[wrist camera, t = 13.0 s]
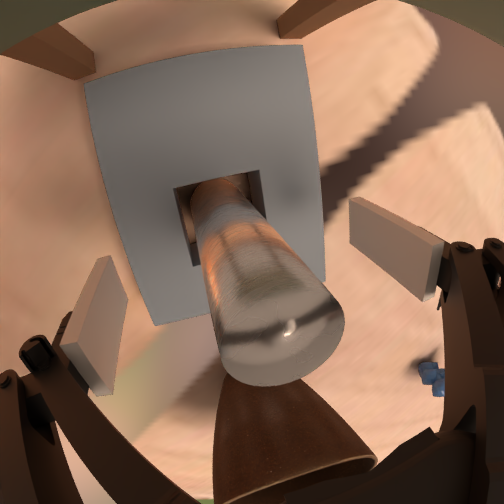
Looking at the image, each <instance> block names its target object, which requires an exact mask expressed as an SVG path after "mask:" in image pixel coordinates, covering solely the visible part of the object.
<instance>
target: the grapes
mask: <svg viewBox="0 0 504 504" xmlns="http://www.w3.org/2000/svg"><path fill="white" fill-rule="evenodd" d="M419 375H420V377H421V378H422V383H423V384H424V385H432V393H433V396H435V397H442V396H443V397H444V393H445V369H439V368H438V363H436V362H422V363H421V364H419Z"/></svg>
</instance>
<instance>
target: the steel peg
mask: <svg viewBox="0 0 504 504" xmlns="http://www.w3.org/2000/svg"><path fill="white" fill-rule="evenodd" d="M191 211H192V217H193V223H194V229H195V235H196V241H197V246H198V252H199V257H200V262H201V268H202V273H203V278H204V283H205V288H206V293H207V298H208V303H209V308H210V313H211V317H212V321H213V326H214V331H215V335H216V340H217V344H218V349H219V353H220V357H221V362H222V364H223V366H224V368H225V369H226V371H227V372H228V373H229V374H230V375H231V376H232V377H234V378H235V379H236V380H238V381H240V382H242V383H245V384H248V385H253V386H277V385H282V384H286V383H290V382H292V381H295V380H298V379H300V378H302V377H304V376H306V375H308V374H309V373H311V372H312V371H314V370H315V369H317V368H318V367H319V366H321V365H322V364H323V363H324V362H325V361H326V360H327V359H328V358H329V357H330V356H331V354H332V353H333V352H334V350H335V349H336V347H337V346H338V344H339V342H340V340H341V337H342V335H343V331H344V325H345V318H344V313H343V310H342V307H341V306H340V304H339V303H338V301H337V300H336V299H335V298H334V296H333V295H332V294H331V293H330V292H329V291H328V289H327V288H326V287H325V286H324V285H323V284H322V283H321V281H320V280H319V279H318V278H317V277H316V276H315V274H314V273H313V272H312V271H311V270H310V269H309V268H308V266H307V265H306V264H305V263H304V262H303V261H302V260H301V258H300V257H299V256H298V255H297V254H296V253H295V252H294V251H293V249H292V248H291V247H290V246H289V245H288V244H287V243H286V242H285V240H284V239H283V238H282V237H281V236H280V235H279V234H278V233H277V231H276V230H275V229H274V228H273V227H272V226H271V225H270V224H269V223H268V221H267V220H266V219H265V218H264V217H263V216H262V215H261V214H260V213H259V212H258V210H257V209H256V208H255V207H254V206H253V205H252V204H251V203H250V202H249V201H248V200H247V198H246V197H245V196H244V195H243V194H242V193H241V192H240V191H239V190H238V189H237V188H236V187H235V186H234V185H233V184H232V183H231V182H229V181H227V180H225V179H219V178H216V179H211V180H207V181H205V182H203V183H201V184H200V185H199V186H198V187H197V188H196V189H195V191H194V193H193V195H192V198H191Z"/></svg>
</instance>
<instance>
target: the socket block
mask: <svg viewBox="0 0 504 504" xmlns="http://www.w3.org/2000/svg"><path fill="white" fill-rule="evenodd" d="M84 90H85V96H86V102H87V108H88V114H89V119H90V124H91V129H92V134H93V139H94V144H95V148H96V152H97V157H98V161H99V165H100V169H101V173H102V177H103V181H104V184H105V188H106V192H107V195H108V199H109V202H110V206H111V209H112V212H113V216H114V219H115V222H116V225H117V228H118V231H119V234H120V237H121V240H122V243H123V246H124V249H125V252H126V255H127V258H128V261H129V263H130V266H131V269H132V271H133V274H134V277H135V279H136V282H137V284H138V287H139V290H140V292H141V295H142V297H143V300H144V302H145V304H146V307H147V309H148V312H149V314H150V316H151V319H152V321H153V323H154V325H155V326H158V325H163V324H167V323H172V322H176V321H180V320H184V319H189V318H193V317H197V316H201V315H205V314H209V313H210V308H209V303H208V298H207V293H206V288H205V283H204V278H203V273H202V268H201V262H200V257H199V252H198V246H197V243H193V244H190V242H189V239H188V235H187V231H186V227H185V223H184V219H183V215H182V211H181V207H180V202H179V198H178V194H177V190H176V188H177V187H181V186H185V185H190V184H194V183H198V182H202V181H207V180H211V179H216V178H220V177H225V176H230V175H235V174H240V173H245V172H247V173H248V179H249V185H250V192H251V198H252V204H253V206H254V207H255V208H256V209H257V210H258V212H259V213H260V214H261V215H262V216H263V217H264V218H265V219H266V220H267V221H268V223H269V224H270V225H271V226H272V227H273V228H274V229H275V230H276V231H277V233H278V234H279V235H280V236H281V237H282V238H283V239H284V240H285V242H286V243H287V244H288V245H289V246H290V247H291V248H292V249H293V251H294V252H295V253H296V254H297V255H298V256H299V257H300V258H301V260H302V261H303V262H304V263H305V264H306V265H307V266H308V268H309V269H310V270H311V271H312V272H313V273H314V274H315V276H316V277H317V278H318V279H319V280H320V281H321V283H322V282H325V248H324V227H323V210H322V196H321V183H320V171H319V161H318V151H317V141H316V132H315V124H314V116H313V108H312V101H311V94H310V87H309V80H308V74H307V68H306V62H305V56H304V50H303V45H269V46H253V47H241V48H231V49H223V50H215V51H208V52H201V53H195V54H190V55H184V56H179V57H174V58H169V59H165V60H160V61H156V62H152V63H148V64H144V65H140V66H137V67H133V68H130V69H126V70H123V71H120V72H116V73H113V74H110V75H107V76H104V77H101V78H98V79H95V80H93V81H90V82H87V83H85V84H84Z"/></svg>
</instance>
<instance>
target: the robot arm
mask: <svg viewBox="0 0 504 504" xmlns="http://www.w3.org/2000/svg"><path fill="white" fill-rule="evenodd" d="M349 223H350V244H351V245H353V246H354V247H355V248H357V249H358V250H359V251H361V252H362V253H363V254H364V255H366V256H367V257H368V258H369V259H371V260H372V261H373V262H374V263H376V264H377V265H378V266H379V267H381V268H382V269H383V270H384V271H386V272H387V273H388V274H389V275H391V276H392V277H393V278H394V279H395V280H397V281H398V282H399V283H400V284H401V285H403V286H404V287H405V288H406V289H407V290H409V291H410V292H411V293H412V294H413V295H415V296H416V297H417V298H418V299H419V300H420V301H422V302H425V301H427V300H429V299H431V298H433V297H434V295H435V291H436V286H439V287H440V288H441V289H442V291H441V295H440V299H439V303H438V307H437V310H439V308H440V307H441V308H442V319H443V332H444V352H445V393H444V413H443V421H442V424H441V427H440V430H439V432H437V433H434V432H433V431H432V429H431V428H430V427H428V428H427V429H425V430H424V431H422V432H421V433H419V434H418V435H416V436H414V437H413V438H411V439H409V440H408V441H406V442H404V443H403V444H401V445H399V446H398V447H397V448H396V449H395V450H394V451H393V452H392V453H391V454H390V455H388V456H387V457H386V458H385V459H384V460H383V461H382V462H380V463H379V464H378V465H377V466H376V467H374V468H373V469H372V470H370V471H369V472H366V473H362V474H358V475H353V476H348V477H343V478H337V479H332V480H325V481H322V482H320V483H317V484H314V485H311V486H309V487H306V488H303V489H300V490H297V491H293V492H290V493H287V494H284V497H285V500H286V501H284V502H282V503H281V504H504V243H503V242H502V241H500V240H499V239H496V238H487V239H485V240H484V244H483V249H477V250H476V249H475V248H474V247H473V246H472V245H471V244H468V243H466V242H453V243H452V244H450V243H448V242H446V241H444V240H443V239H441V238H439V237H437V236H436V235H433V234H432V233H430V232H428V231H427V230H425V229H423V228H421V227H419V226H416V225H414V224H413V223H411V222H409V221H407V220H405V219H403V218H401V217H399V216H398V215H396V214H394V213H392V212H390V211H388V210H386V209H384V208H382V207H380V206H378V205H376V204H374V203H372V202H370V201H368V200H366V199H364V198H361V197H356V198H351V199H349ZM499 277H501V287H500V288H499V287H498V285H497V284H498V281H499ZM127 303H128V298H127V295H126V293H125V291H124V288H123V286H122V283H121V281H120V278H119V276H118V273H117V271H116V268H115V266H114V263H113V260H112V258H111V255H109V256H106V257H102V258H99V259H97V261H96V263H95V265H94V267H93V269H92V271H91V273H90V275H89V277H88V279H87V281H86V284H85V286H84V288H83V290H82V292H81V294H80V297H79V299H78V301H77V303H76V306H75V308H74V310H73V311H70V312H68V314H67V315H66V316H65V317H64V318H63V319H62V322H61V324H60V326H59V329H58V331H57V333H56V334H57V335H56V336H55V338H54V341H53V343H52V346H51V344H50V343H49V341H48V340H47V338H46V337H45V336H44V335H36V336H33V337H32V338H30V339H28V340H27V341H26V342H25V343H24V344H23V345H22V347H21V348H20V351H19V357H20V359H21V360H22V362H23V363H24V364H25V366H26V367H27V368H28V370H29V371H30V372H31V373H30V374H28V375H25V376H23V377H21V378H20V377H19V376H18V374H17V373H16V372H15V371H14V370H6V371H4V372H3V373H1V374H0V504H84V503H83V501H82V499H81V497H80V494H79V492H78V489H77V487H76V485H75V482H74V479H73V477H72V474H71V471H70V469H69V466H68V463H67V460H66V457H65V454H64V452H63V448H62V445H61V441H60V438H59V435H58V431H57V427H56V423H55V421H57V423H58V425H59V426H60V428H61V430H62V431H63V433H64V435H65V436H66V438H67V439H68V441H69V442H70V444H71V445H72V447H73V448H74V450H75V451H76V453H77V454H78V456H79V457H80V458H81V460H82V461H83V463H84V464H85V465H86V467H87V468H88V469H89V471H90V472H91V473H92V475H93V476H94V477H95V478H96V480H97V481H98V482H99V483H100V485H101V486H102V487H103V488H104V490H105V491H106V492H107V493H108V494H109V495H110V497H111V498H112V499H113V500H114V501H115V502H116V503H117V504H201V503H200V502H198V501H197V500H195V499H194V498H193V497H191V496H190V495H189V494H187V493H186V492H185V491H184V490H182V489H181V488H180V487H178V486H177V485H176V484H175V483H174V482H172V481H171V480H170V479H169V478H167V477H166V476H165V475H164V474H163V473H162V472H160V471H159V470H158V469H157V468H156V467H155V466H154V465H153V464H151V463H150V462H149V461H148V460H147V459H146V458H145V457H144V456H143V455H142V454H141V453H140V452H139V451H138V450H137V449H136V448H135V447H134V446H132V445H131V443H130V442H129V441H127V439H126V438H124V436H123V435H122V434H121V433H120V432H119V431H118V430H117V429H116V428H115V427H114V426H113V425H112V424H111V422H110V421H109V420H108V419H107V418H106V417H105V416H104V415H103V413H102V412H101V411H100V410H99V409H98V408H97V406H96V405H95V404H94V403H93V401H92V400H91V399H90V398H89V396H88V390H89V388H90V389H91V390H92V392H93V393H94V394H95V395H96V396H104V395H111V394H113V390H114V381H115V373H116V366H117V359H118V353H119V346H120V340H121V335H122V329H123V323H124V318H125V313H126V308H127Z"/></svg>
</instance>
